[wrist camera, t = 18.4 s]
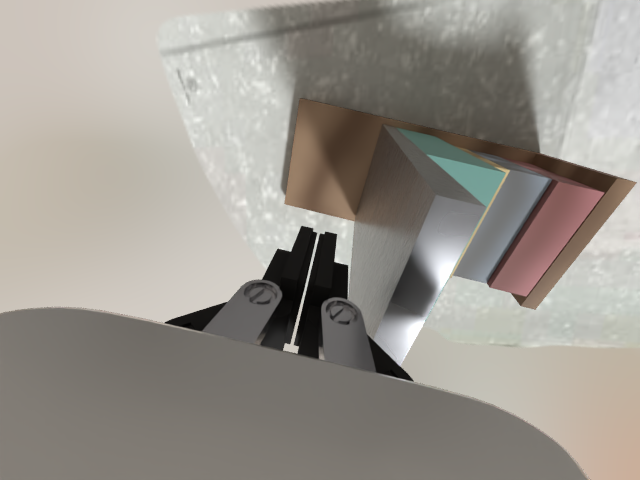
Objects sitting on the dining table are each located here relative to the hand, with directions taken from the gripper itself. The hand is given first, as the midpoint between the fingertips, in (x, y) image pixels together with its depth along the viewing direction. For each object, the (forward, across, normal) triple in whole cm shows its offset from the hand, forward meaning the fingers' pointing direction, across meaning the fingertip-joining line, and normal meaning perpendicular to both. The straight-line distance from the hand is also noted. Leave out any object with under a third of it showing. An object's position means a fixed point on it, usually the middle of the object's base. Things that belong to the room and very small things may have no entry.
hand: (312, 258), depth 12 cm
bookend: (+18, -4, 0) cm, 18 cm away
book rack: (+19, -7, 0) cm, 21 cm away
